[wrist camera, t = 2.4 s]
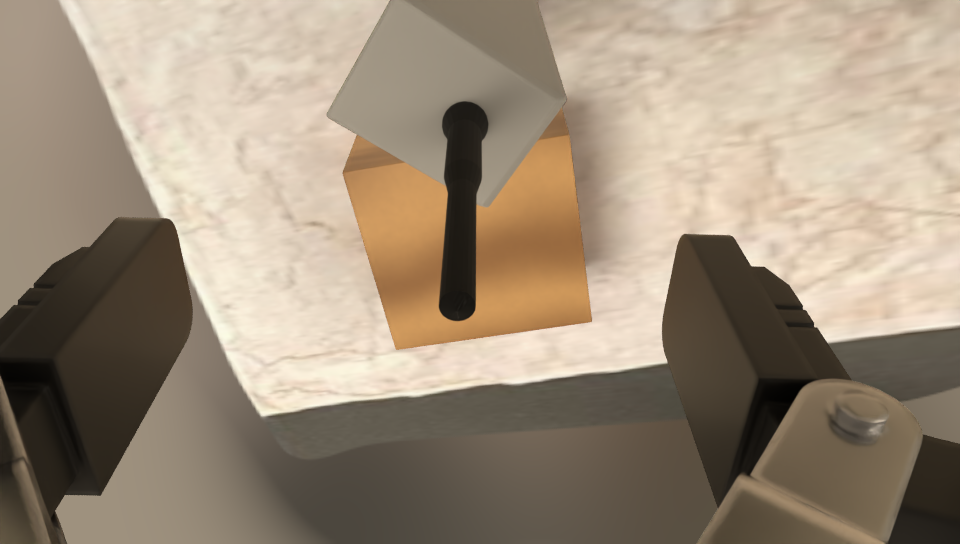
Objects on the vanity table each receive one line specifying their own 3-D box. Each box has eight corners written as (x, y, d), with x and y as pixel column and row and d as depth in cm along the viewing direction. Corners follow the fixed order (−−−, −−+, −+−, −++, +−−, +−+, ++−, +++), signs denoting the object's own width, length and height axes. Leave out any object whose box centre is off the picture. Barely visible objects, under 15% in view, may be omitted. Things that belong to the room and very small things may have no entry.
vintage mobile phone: (433, -92, 31) (337, 115, 10) (530, -24, 33) (625, 284, 11) (390, -14, 33) (229, 306, 12) (484, 48, 34) (492, 431, 13)
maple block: (358, 130, 36) (341, 172, 32) (558, 95, 35) (569, 134, 31) (404, 295, 42) (395, 350, 37) (580, 269, 41) (592, 322, 36)
